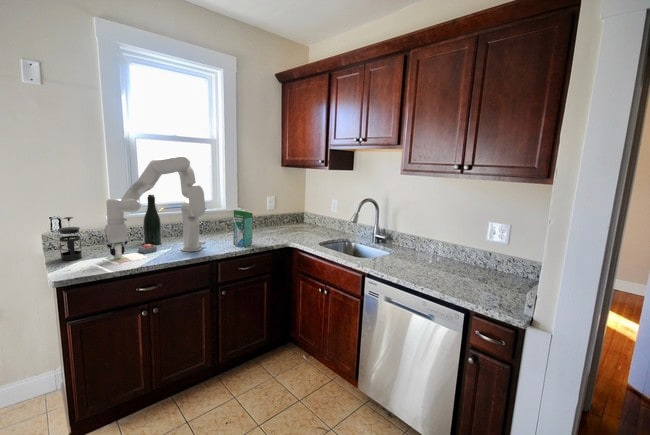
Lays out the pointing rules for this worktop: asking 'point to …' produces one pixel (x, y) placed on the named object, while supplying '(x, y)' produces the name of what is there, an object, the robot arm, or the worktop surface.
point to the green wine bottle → (152, 223)
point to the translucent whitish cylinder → (118, 250)
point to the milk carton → (242, 228)
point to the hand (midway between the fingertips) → (117, 254)
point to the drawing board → (125, 258)
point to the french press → (70, 243)
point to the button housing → (147, 249)
